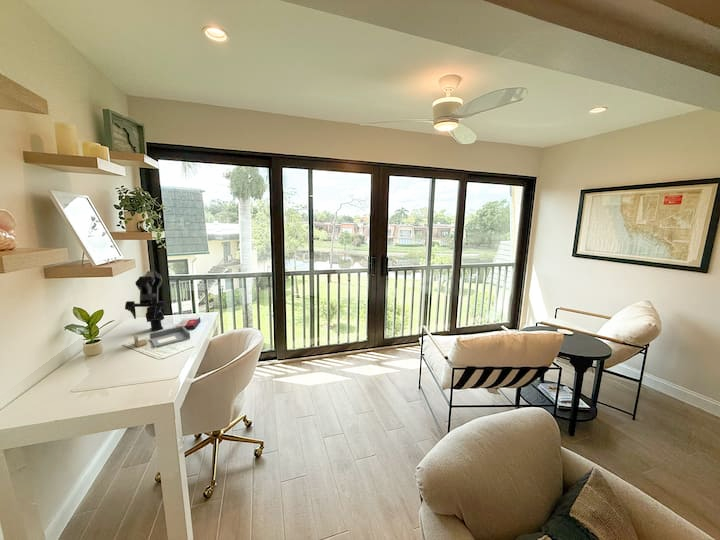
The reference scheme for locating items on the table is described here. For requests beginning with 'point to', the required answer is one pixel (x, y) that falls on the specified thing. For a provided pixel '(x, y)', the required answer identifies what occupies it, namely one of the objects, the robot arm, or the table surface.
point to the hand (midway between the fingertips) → (145, 318)
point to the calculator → (189, 323)
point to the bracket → (139, 343)
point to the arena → (169, 336)
